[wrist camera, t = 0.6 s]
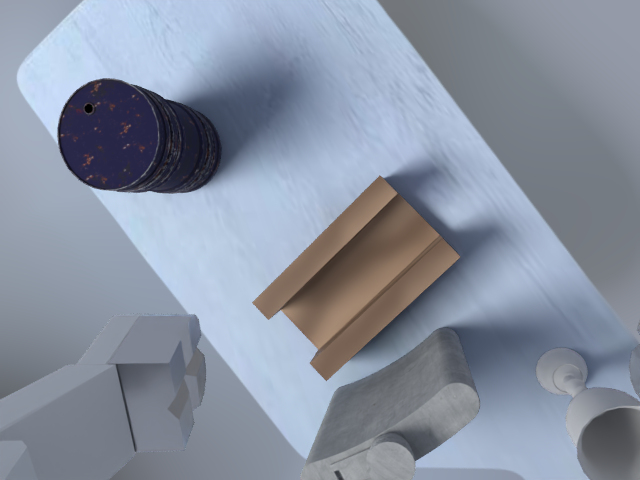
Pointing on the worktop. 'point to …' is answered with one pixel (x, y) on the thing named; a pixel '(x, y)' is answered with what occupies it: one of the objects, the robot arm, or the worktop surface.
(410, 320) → the worktop surface
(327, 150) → the worktop surface
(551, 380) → the chalice
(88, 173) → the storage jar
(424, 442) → the hip flask
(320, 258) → the u rest
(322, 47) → the worktop surface
